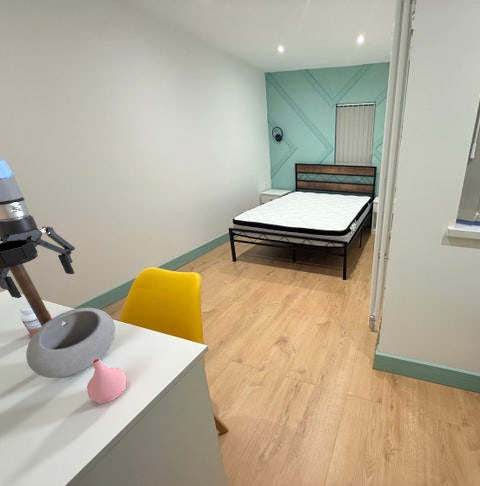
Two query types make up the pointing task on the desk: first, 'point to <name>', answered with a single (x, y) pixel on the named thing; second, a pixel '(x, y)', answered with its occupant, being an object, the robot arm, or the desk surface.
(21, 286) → the stand
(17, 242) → the holder
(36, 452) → the desk surface
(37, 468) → the desk surface
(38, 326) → the pill bottle
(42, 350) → the planter
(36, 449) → the desk surface
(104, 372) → the pink vase
